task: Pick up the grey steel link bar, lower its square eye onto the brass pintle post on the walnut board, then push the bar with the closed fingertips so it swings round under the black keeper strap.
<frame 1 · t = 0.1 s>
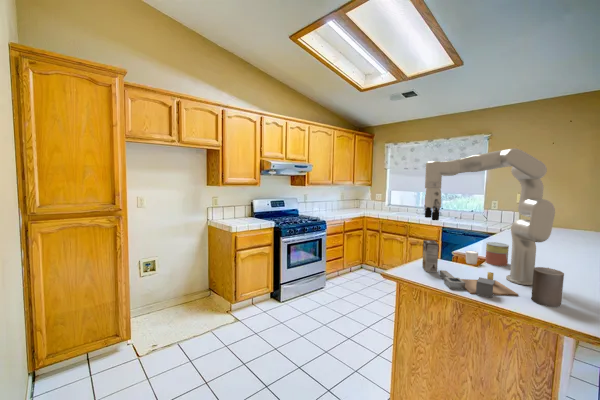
hand: (431, 218, 145), 31 cm above the table, fingers open, 9 cm apart
keeper: (485, 293, 128), resting on board
shot glass: (471, 263, 174), on the table
pillar candle: (546, 302, 119), on the table
link: (442, 276, 150), on the table
canned food: (496, 263, 173), on the table
pintle: (489, 284, 139), resting on board
coffee box: (429, 269, 161), on the table
board: (484, 287, 135), on the table
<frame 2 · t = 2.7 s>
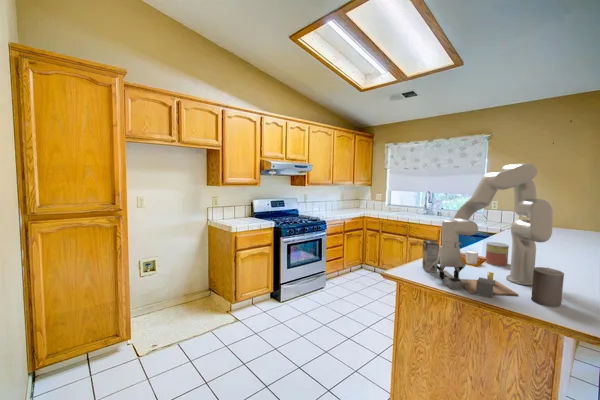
hand: (448, 278, 144), 1 cm above the table, fingers open, 6 cm apart
nothing on the table moved.
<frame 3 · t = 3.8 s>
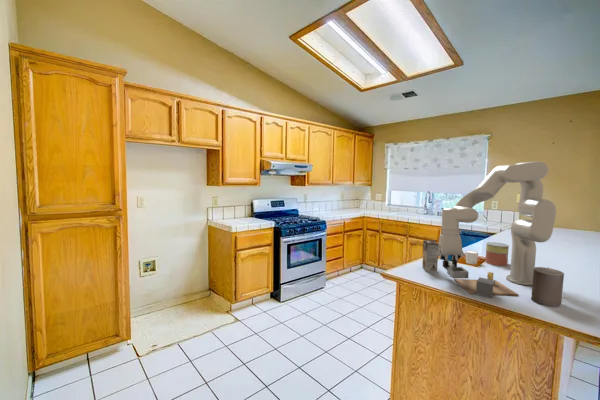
hand: (450, 267, 144), 7 cm above the table, fingers closed on link, 3 cm apart
link: (445, 266, 150), point 5 cm above the table, touching gripper
everything else where it was.
when the fingers open (2 cm above the table, at t = 7.7 s): link stays where it is, resting on board.
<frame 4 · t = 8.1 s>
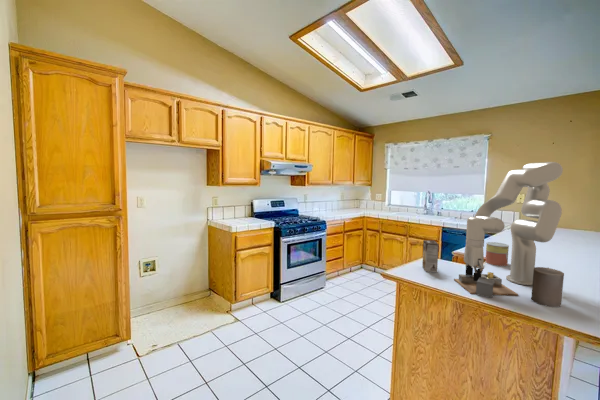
hand: (473, 277, 139), 3 cm above the table, fingers open, 7 cm apart
link: (459, 281, 140), point 1 cm above the table, touching board
everything else where it was.
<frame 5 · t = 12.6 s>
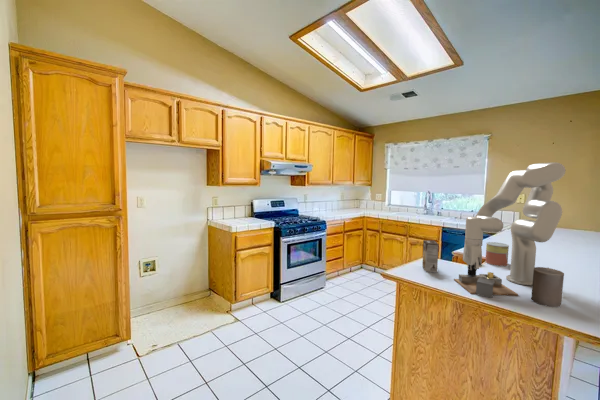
hand: (471, 277, 143), 2 cm above the table, fingers closed
link: (459, 281, 140), point 1 cm above the table, touching gripper
everything else where it was.
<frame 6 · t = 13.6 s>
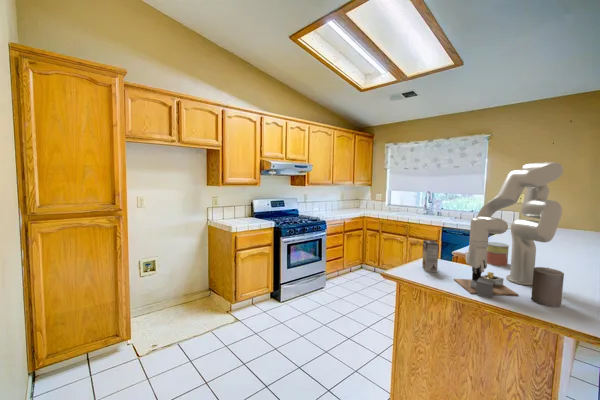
hand: (476, 280, 138), 2 cm above the table, fingers closed
link: (473, 288, 131), point 1 cm above the table, touching gripper
everything else where it was.
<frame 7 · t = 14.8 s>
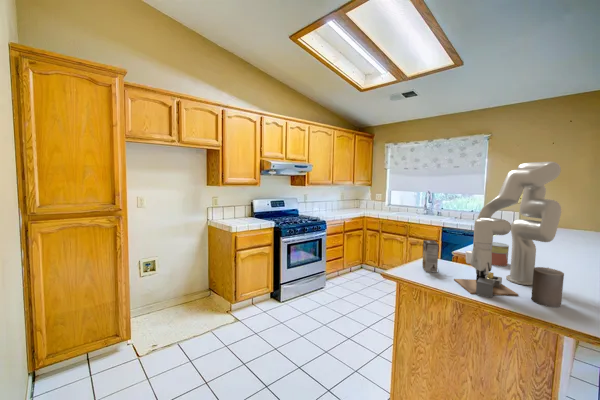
hand: (480, 283, 134), 2 cm above the table, fingers closed
link: (486, 292, 127), point 1 cm above the table, touching board, gripper, pintle
everything else where it was.
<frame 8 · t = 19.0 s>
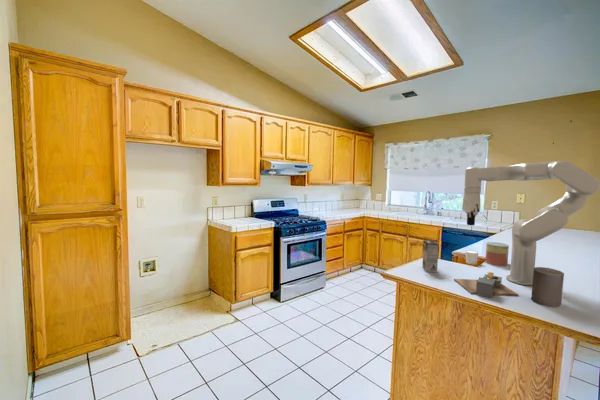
hand: (470, 224, 151), 27 cm above the table, fingers closed
link: (487, 292, 127), point 1 cm above the table, touching board
everything else where it was.
at the end: link inside the target area on the keeper (1.3 cm from its centre), point 0.8 cm above the keeper's base; link tilted 0° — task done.
